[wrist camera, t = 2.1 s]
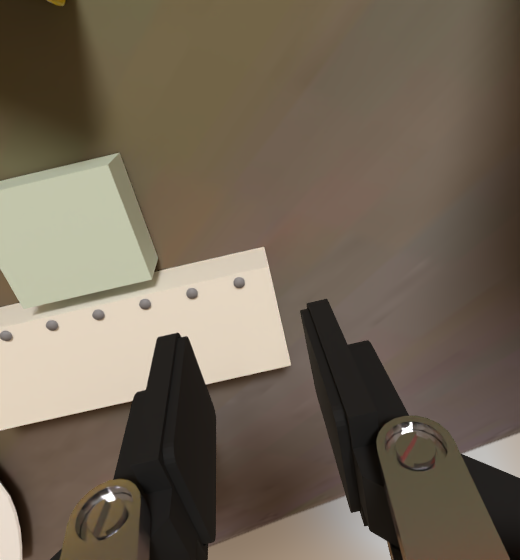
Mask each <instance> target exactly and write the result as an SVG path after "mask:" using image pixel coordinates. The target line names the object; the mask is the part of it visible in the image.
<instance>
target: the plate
mask: <svg viewBox="0 0 520 560" xmlns="http://www.w3.org/2000/svg"><path fill="white" fill-rule="evenodd" d="M0 560H22V538H21V528H20V523H19V519H18V514H17V510H16V507H15V505H14V502H13V500H12V497H11V495H10V493H9V492H8V490H7V489H6V487H5V486H4V485H3V483H2V482H1V481H0Z"/></svg>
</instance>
